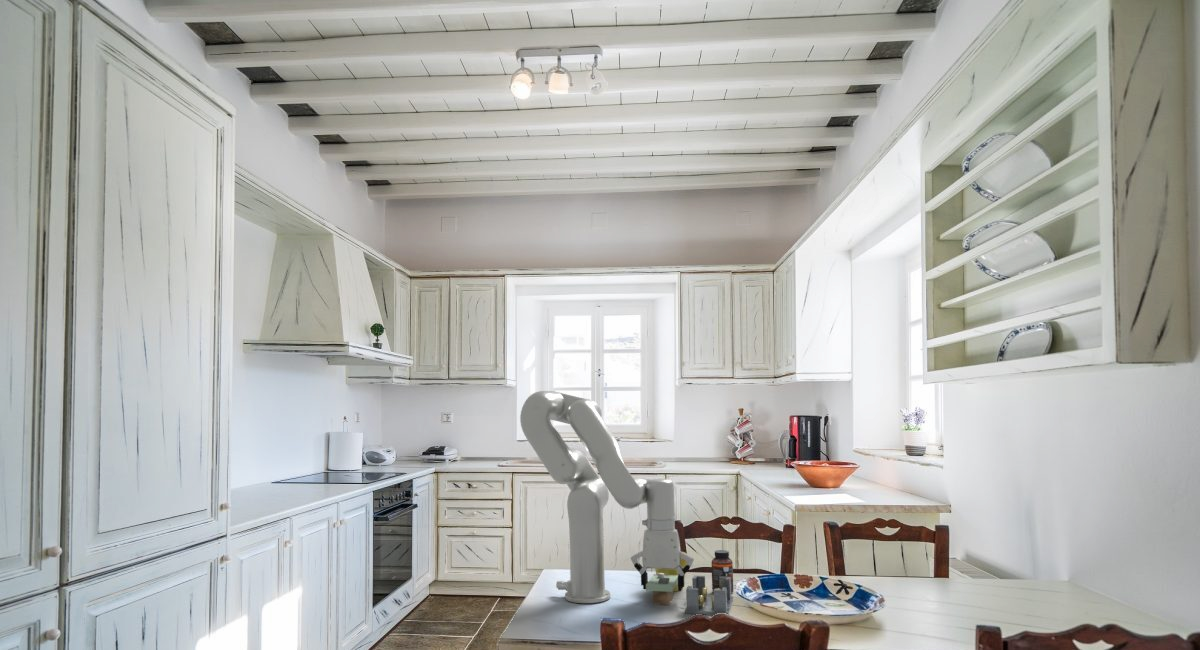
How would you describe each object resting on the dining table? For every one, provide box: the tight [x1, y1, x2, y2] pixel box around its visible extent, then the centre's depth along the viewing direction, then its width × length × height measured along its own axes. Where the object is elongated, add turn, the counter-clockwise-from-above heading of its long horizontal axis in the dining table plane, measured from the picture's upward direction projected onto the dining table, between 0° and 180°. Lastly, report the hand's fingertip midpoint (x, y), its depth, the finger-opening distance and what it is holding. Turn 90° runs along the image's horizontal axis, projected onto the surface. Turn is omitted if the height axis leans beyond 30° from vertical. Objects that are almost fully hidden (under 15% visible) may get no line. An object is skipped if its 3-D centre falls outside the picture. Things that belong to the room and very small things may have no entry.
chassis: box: [684, 575, 734, 616], centre depth 202 cm, size 11×16×6 cm
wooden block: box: [652, 591, 674, 606], centre depth 208 cm, size 4×8×4 cm, turn 165°
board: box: [645, 573, 678, 592], centre depth 209 cm, size 7×12×2 cm, turn 165°
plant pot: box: [654, 551, 689, 592], centre depth 221 cm, size 10×10×10 cm
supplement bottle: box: [711, 549, 734, 594], centre depth 217 cm, size 6×6×11 cm
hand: (662, 589), depth 208 cm, fingers open, 9 cm apart
